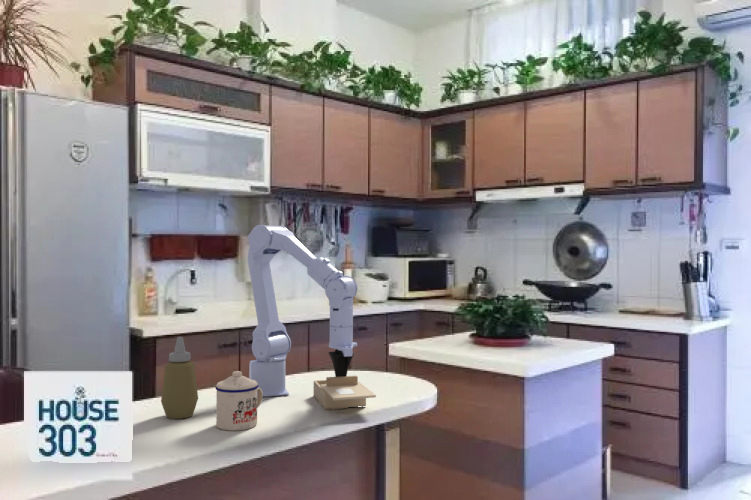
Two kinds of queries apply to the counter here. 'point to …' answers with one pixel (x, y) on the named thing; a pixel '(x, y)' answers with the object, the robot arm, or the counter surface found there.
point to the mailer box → (334, 404)
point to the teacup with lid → (237, 402)
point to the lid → (346, 388)
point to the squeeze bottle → (179, 384)
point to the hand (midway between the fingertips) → (340, 380)
